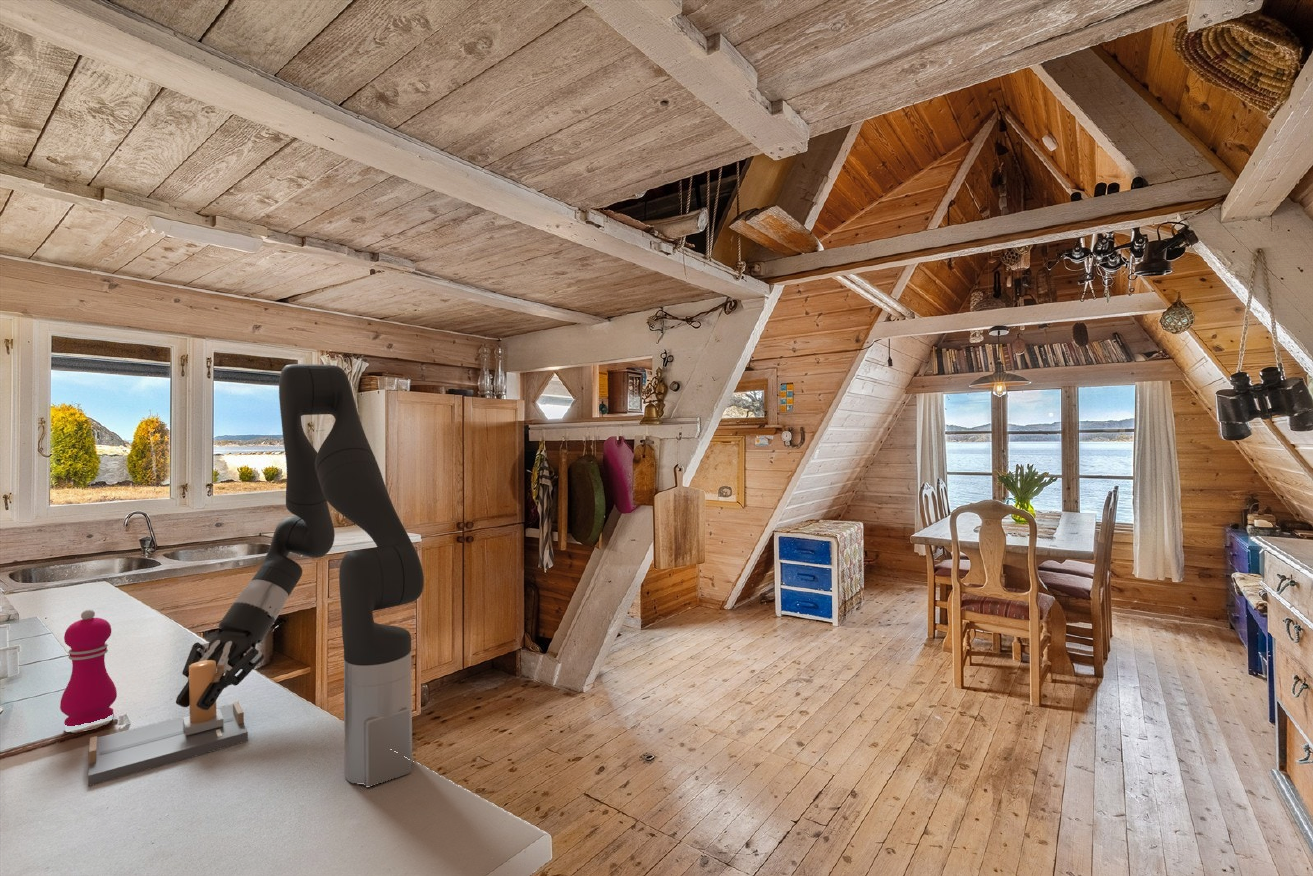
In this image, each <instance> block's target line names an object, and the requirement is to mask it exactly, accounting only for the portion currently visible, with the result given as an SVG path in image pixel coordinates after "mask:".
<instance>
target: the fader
mask: <svg viewBox="0 0 1313 876" xmlns="http://www.w3.org/2000/svg"><path fill="white" fill-rule="evenodd" d="M215 674H216V661H214V660H205V661H200V662H196V663H193V664H191V665H190V666H189V706H188V707H189V715H190V716H187V715H186V716H187V717H183V716H182V717H183V726H184V730H185V735H190V734H194V733H198V732H202V731H205V730H209V729H213V728H217V727H221V726H224V722H223V716H222V714H221V711H220V707H218V708H219V709H216V708H217V700H216V701H215V703H214V704H213V705H212V706H211V707H210V708H209V709H208V710H202V709H201V708H199V707H197V706H196V704H197V702H198V700H199V699H200V697H201V696H202V694H203V693H204V691H205V690H206V688H207V687H208V685H209V684H210V683H214V682H213V679H214V676H215Z"/></svg>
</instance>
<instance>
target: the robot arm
mask: <svg viewBox="0 0 1313 876" xmlns="http://www.w3.org/2000/svg"><path fill="white" fill-rule="evenodd" d="M278 381H279V382H278V398H279V408H280V409H279V410H280V411H279V412H280V419H281V430H282V437H283V438H282V439H283V446H284V447H283V448H284V455H285V456H284V457H285V463H286V465H285V466H286V480H285V483H286V484H285V486H286V487H285V506H286V509H287V511H288V512H289V513H291V514H293V516H288V517H286V518H284V519H282V520H281V521H280V522H279V523H278V525H277V526H276V528H275V530H274V533H273V534H272V535H273V536H272V539H271V543H270V545H269V548H268V551H267V552H266V553H267V554H266V556H265V558H264V560H263V563H262V564H261V566H260V567H259V569H258V570H257V572H255V575H254V576H253V577H252V579H251V580H250V582H249V583H247V585H246V586H245V587H244V588H243V590H242V591H241V592H240V594H238V596H237V597H236V599H235V600H234V602H233V603H232V605H231V606H230V608H229V609H228V610H227V612H226V613H225V615H224V616H223V618H222V619H221V620H220V622H219V623H218V625H217V626H218V632H217V634H216V635H215V636H214V637H213V638H212V639H210V640H209V642H207V643H203V644H202V643H200V642H195V643H194V644H193V645H192V646H191V650H190V651H189V654H188V656H187V659H186V662H185V665H184V667H183V670H182V674H181V675H183V676H185V677H186V678H187V682H186V683H185V685H184V686H183V688H182V689H181V691H180V692H179V693H178V695H177V696H176V699H175V703H176V705H178V706H179V707H182V708H188V707H189V666H190V665H191V664H193V663H196V662H200V661H205V660H214V661H216V674H215V676H214V679H213V682H214V683H210V684H209V685H208V687H207V688H206V690H205V691H204V693H203V694H202V696H201V697H200V699H199V700H198V702H197V704H196V706H197V707H199V708H201V709H202V710H208V709H209V708H210V707H211V706H212V705H213V704H214V703H215V701H216V702H217V700H218V698H219V697H220V695H221V694H222V691H223V690H224V689H226V688H227V689H228V687H229V686H232V685H233V686H235V687H236V686H238V685H239V684H240V683H241V682H242V681H243V680H244V679H245V678H246V677H247V676H248V675H249V674H250V673H251V672H252V671H253V670H254V669H255V668H256V667H257V666H258V665H259V664H260V663H261V661H262V660H263V659H264V658H265V654H264V653H263V652H261V651H260V650H259V649H257V648H256V647H257V644H260V643H262V641H264V639H265V638H266V636H267V634H268V632H269V631H270V629H271V627H273V625H274V623H275V622H276V620H277V618H278V617H279V615H280V613H281V612H282V610H283V608H284V607H285V604H286V602H287V600H288V598H290V595H291V594H292V592H293V591H294V589H295V587H296V585H297V584H298V583H299V581H300V580H301V578H302V575H303V568H302V566H301V565H300V564H299V563H298V562H296V561H294V560H293V559H291V558H290V557H288V556H289V554H290V553H292V554H296V555H300V556H304V557H308V558H312V559H313V558H314V559H317V558H322V557H324V556H325V555H327V554H328V553H329V552H330V550H331V549H332V548H333V546H334V543H335V537H336V536H335V534H336V533H335V527H334V524H333V523H334V522H333V519H332V516H331V513H330V508H329V505H330V506H331V507H332V508H333V509H335V511H337V512H338V513H340V515H342V516H344V517H345V518H346V519H348V520H349V521H350V522H352V523H354V524H355V525H356V526H357V527H359V528H361V529H362V530H363V532H365V533H366V534H367V535H368V537H370V539H371V540H372V541H373V542H374V543H375V545H376V546H375V547H368V548H367V547H366V548H360V549H354V550H350V551H348V552H346V553H345V554H344V556H343V557H342V559H341V562H340V566H339V572H338V573H339V575H338V580H339V581H338V582H339V599H340V610H341V611H340V613H341V614H340V615H341V633H342V634H341V636H342V637H341V638H342V643H343V693H344V694H343V704H344V705H343V707H344V708H343V709H344V711H343V712H344V713H343V714H344V715H343V716H344V717H343V719H344V725H343V726H344V731H343V732H344V777H345V779H346V781H347V782H349V783H352V784H354V783H364V784H365V785H366V786H371V785H374V784H377V783H381V784H384V783H386V782H389V781H391V779H392V780H394V778H395V779H397V778H400V777H402V776H405V775H408V774H410V773H412V771H411V770H412V763H413V721H412V720H413V716H412V715H413V712H412V711H413V708H412V707H413V705H412V704H413V703H412V701H413V700H412V699H413V696H412V694H413V693H412V692H413V691H412V636H411V632H410V631H409V630H408V629H406V628H404V627H400V626H397V625H396V626H394V625H389V624H380V623H377V622H375V620H374V615H373V614H374V613H373V612H374V611H379V610H384V609H390V608H393V607H399V606H402V605H407V604H410V603H413V602H415V601H417V600H418V599H419V598H420V597H421V596H422V593H423V589H424V583H425V579H424V577H425V576H424V572H423V571H424V570H423V567H422V566H423V565H422V564H421V559H420V556H419V555H418V553H417V550H416V548H415V545H414V544H413V543H412V541H411V540H412V539H410V536H409V535H408V532H407V531H406V529H405V527H404V524H403V523H402V521H401V519H400V517H399V515H398V513H397V511H396V509H395V507H394V505H393V502H392V500H391V497H390V493H389V492H388V489H387V487H386V484H385V481H384V478H383V475H382V472H381V470H380V466H379V464H378V462H377V459H376V457H375V456H376V455H375V453H374V451H373V450H372V448H371V445H370V443H369V441H368V438H367V436H366V433H365V430H364V427H363V425H362V422H361V418H360V416H359V412H358V408H357V404H356V401H355V398H354V393H353V389H352V386H351V384H350V380H349V377H348V375H347V374H346V372H345V370H344V369H343V368H342V367H340V366H338V365H332V364H307V363H306V364H304V363H297V364H295V363H294V364H287V365H285V366H284V367H283V368H282V369H281V372H280V375H279V380H278ZM308 415H309V416H315V415H316V416H317V415H331V416H332V417H333V418H334V419H335V421H334V423H333V425H332V428H331V430H330V432H329V433H328V434H327V437H326V438H325V439H324V440H323V443H321V446H319V449H318V451H317V449H315V447H314V446H313V445H312V443H311V441H309V439H308V437H307V436H306V433H305V432H304V431H305V430H304V428H303V424H302V416H308ZM328 503H329V505H328ZM390 749H392V750H390ZM394 751H396V752H398V753H396V752H394ZM404 756H405V757H407V758H408V759H410V760H408V759H407V758H405V757H404ZM411 760H412V761H411ZM388 780H389V781H388ZM385 781H386V782H385ZM383 782H384V783H383Z"/></svg>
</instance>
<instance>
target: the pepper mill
mask: <svg viewBox="0 0 1313 876" xmlns="http://www.w3.org/2000/svg"><path fill="white" fill-rule="evenodd" d="M95 616H96V615H95V611H94V610H93V609H85V610H83V612H82V613H81V614H80V618H81V619H79V620H77V621H74V622H73V623H72V624H70V625H69V626H68V627H67V628H66V630H65V632H64V637H63V640H64V641H63V642H64V643H65V645H66V646H68V647H69V648H70V649H69V650H68V654H69V656H68V657H67V658H68V659H69V660H71V663H72V664H71V665H72V666H71V674H70V678H69V681H68V683H67V685H66V688H65V689H64V690H63V693H62V695H61V698H60V704H59V709H60V712H62V713H63V714H64V715H65V716H67V717H65V719H64V721H63V722H64V723H63V725H64V724H65V725H67V726H75V725H81V724H84V723H91V722H94V721H97V720H100V719H105V718H107V717H108V716H110V715H112V714H113V715H114V708H113V707H111V706H112V705H113V704H114V702H115V701H116V700H117V697H118V694H117V693H118V692H117V687H116V685H115V682H114V681H113V680H112V678H111V677H110V675H109V673H108V672H107V671H108V670H107V668H106V663H105V655H106V654H107V653H108V651H109V649H108V646H109V644H108V643H106V642H107V641H108V639H109V638H110V637H111V635H112V627H111V624H110V622H109V621H108V620H106V619H103V618H101V617H95Z"/></svg>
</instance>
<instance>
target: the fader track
mask: <svg viewBox="0 0 1313 876" xmlns="http://www.w3.org/2000/svg"><path fill="white" fill-rule="evenodd" d="M219 708H220V711H221V714H222V716H223V722H224V726H221V727H217V728H213V729H209V730H205V731H202V732H198V733H194V734H190V735H185V730H184V726H183V717H187V716H190V714H187V715H184V716H180V717H175V718H172V719H167V720H163V721H158V722H156V723H152V724H151V723H150V724H147V725H143V726H140V727H135V728H130V729H127V730H123V731H118V732H114V733H110V734H106V735H103V736H99V737H98V736H97V735H95V736H91V737H90V738H89V748H88V775H87V776H88V779H87V781H88V784H87V785H88V787H89V786H90V787H91V786H93V785H98V784H101V783H104V782H109V781H113V780H115V779H118V778H123V777H126V776H129V775H133V774H136V773H140V772H144V771H147V770H150V769H154V768H157V767H160V766H165V765H168V764H172V763H175V762H179V761H182V760H186V759H189V758H190V759H191V758H193V757H196V756H195V755H197V756H200V755H203V754H202V753H204V754H207V753H210V752H209V751H211V752H213V751H214V750H215V751H217V749H218V750H220V748H222V749H225V748H228V747H227V746H229V747H232V746H236V745H239V744H242V743H241V742H243V743H246V742H248V741H249V732H248V729H247V726H246V725H245V722H244V721H245V719H244V718H245V717H244V716H245V715H244V713H245V712H244V710H243V708H242V705H241V704H240V702H239V701H235V702H232V704H228V705H225V706H220V707H216V709H219ZM238 743H239V744H238ZM235 744H236V745H235ZM224 747H225V748H224ZM206 752H207V753H206Z"/></svg>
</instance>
